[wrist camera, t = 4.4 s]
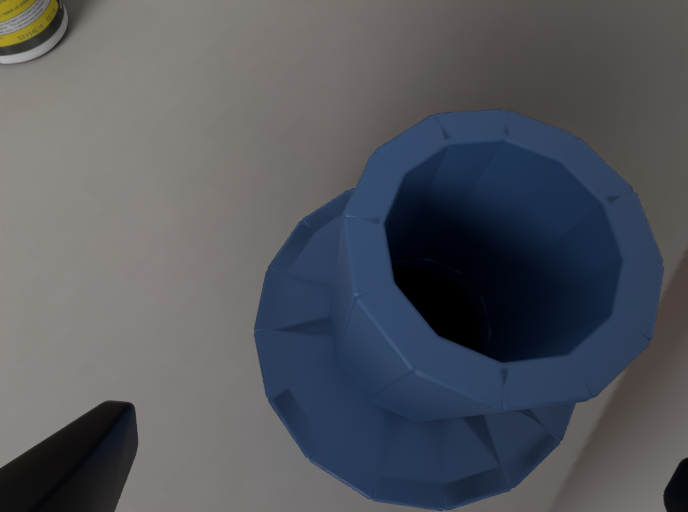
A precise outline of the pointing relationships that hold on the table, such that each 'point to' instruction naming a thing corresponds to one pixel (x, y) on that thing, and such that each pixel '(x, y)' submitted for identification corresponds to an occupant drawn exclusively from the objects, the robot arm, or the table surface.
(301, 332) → the bottle
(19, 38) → the supplement bottle
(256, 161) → the table surface
